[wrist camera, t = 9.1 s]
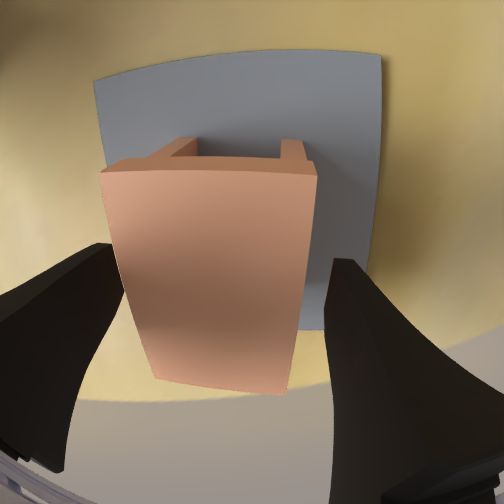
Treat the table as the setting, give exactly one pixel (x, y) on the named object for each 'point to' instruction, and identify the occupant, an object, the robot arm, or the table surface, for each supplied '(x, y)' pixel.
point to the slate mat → (267, 132)
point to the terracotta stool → (214, 260)
